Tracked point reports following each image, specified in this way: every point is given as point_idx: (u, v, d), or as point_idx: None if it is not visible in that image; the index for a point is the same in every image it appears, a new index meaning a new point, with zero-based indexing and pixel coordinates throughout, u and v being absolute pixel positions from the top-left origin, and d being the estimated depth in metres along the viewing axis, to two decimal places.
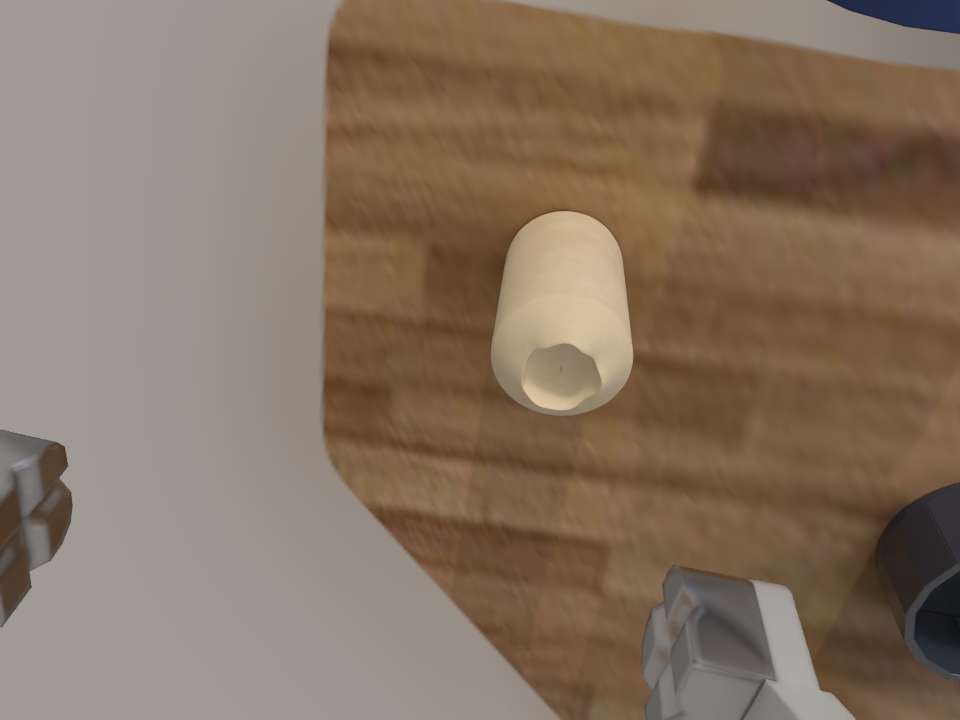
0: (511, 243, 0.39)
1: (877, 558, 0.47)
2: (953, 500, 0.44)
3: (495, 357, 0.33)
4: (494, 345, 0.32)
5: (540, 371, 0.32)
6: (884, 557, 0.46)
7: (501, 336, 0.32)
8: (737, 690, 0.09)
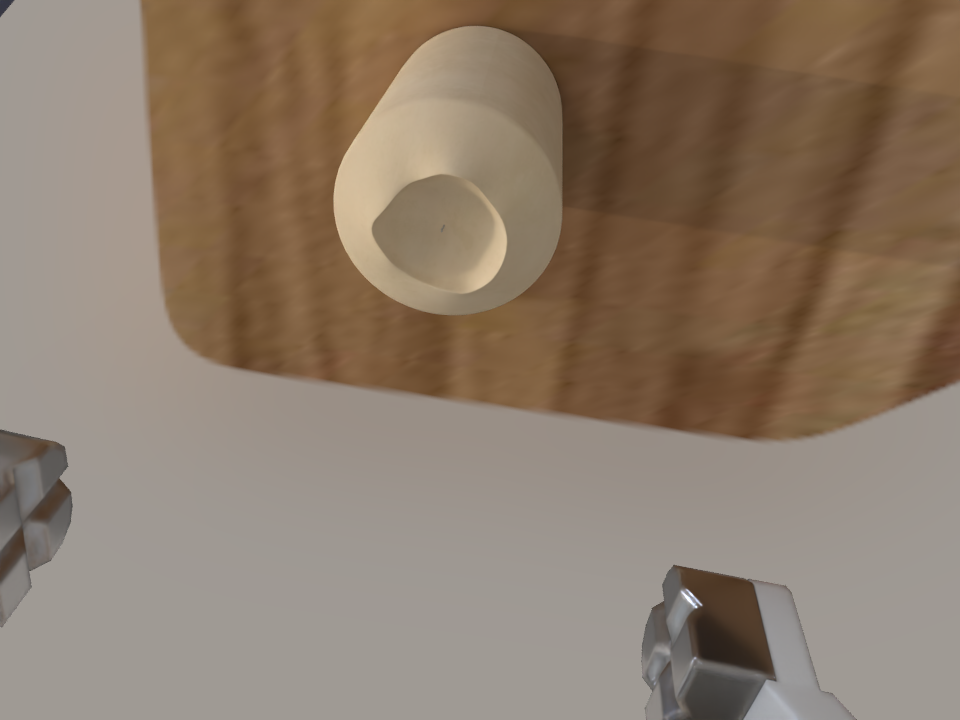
0: None
1: None
2: None
3: (448, 312, 0.21)
4: (429, 311, 0.21)
5: (453, 257, 0.20)
6: None
7: (408, 303, 0.21)
8: (737, 690, 0.09)
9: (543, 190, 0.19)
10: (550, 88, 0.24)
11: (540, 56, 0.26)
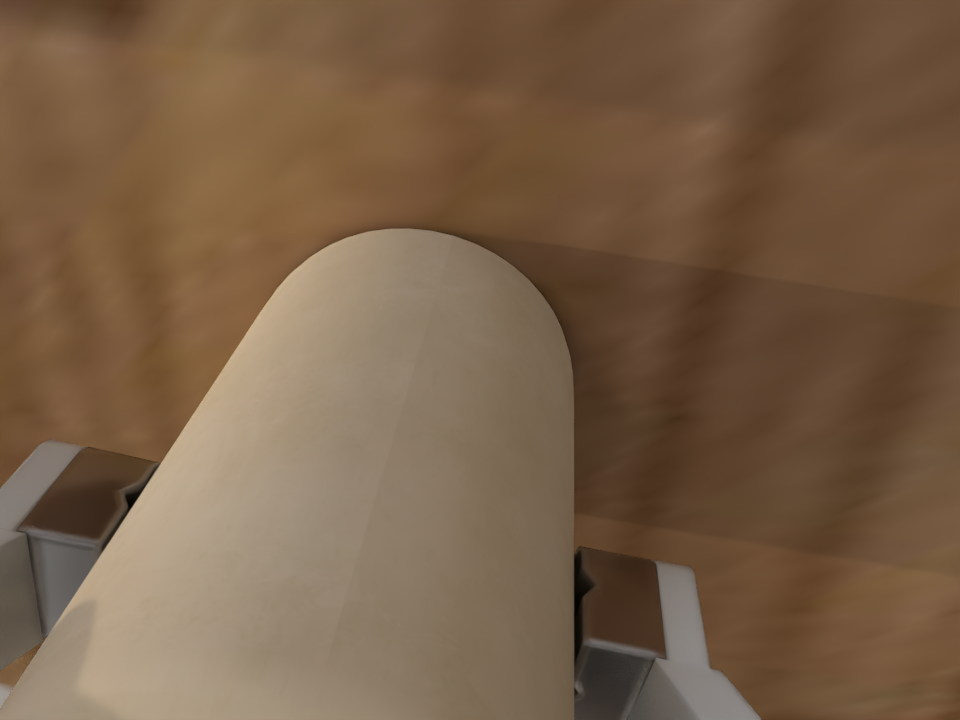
0: None
1: None
2: None
3: None
4: None
5: None
6: None
7: None
8: (629, 669, 0.09)
9: None
10: (549, 382, 0.12)
11: (531, 287, 0.13)
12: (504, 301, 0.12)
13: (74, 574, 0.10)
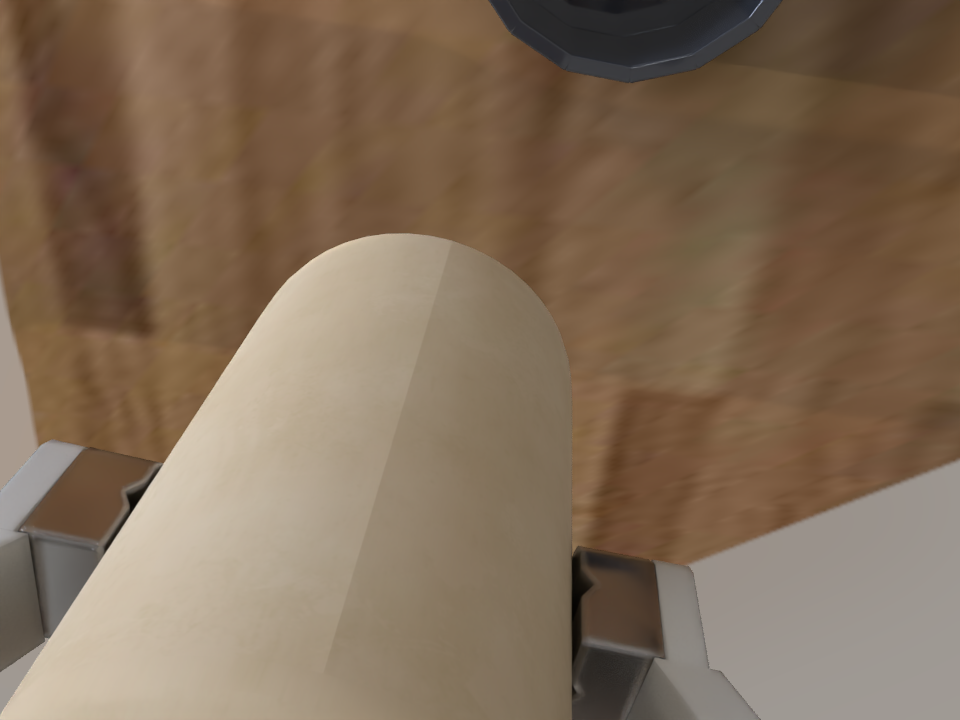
0: None
1: None
2: None
3: None
4: None
5: None
6: None
7: None
8: (627, 669, 0.09)
9: None
10: (547, 387, 0.12)
11: (530, 292, 0.13)
12: (502, 306, 0.12)
13: (76, 574, 0.10)
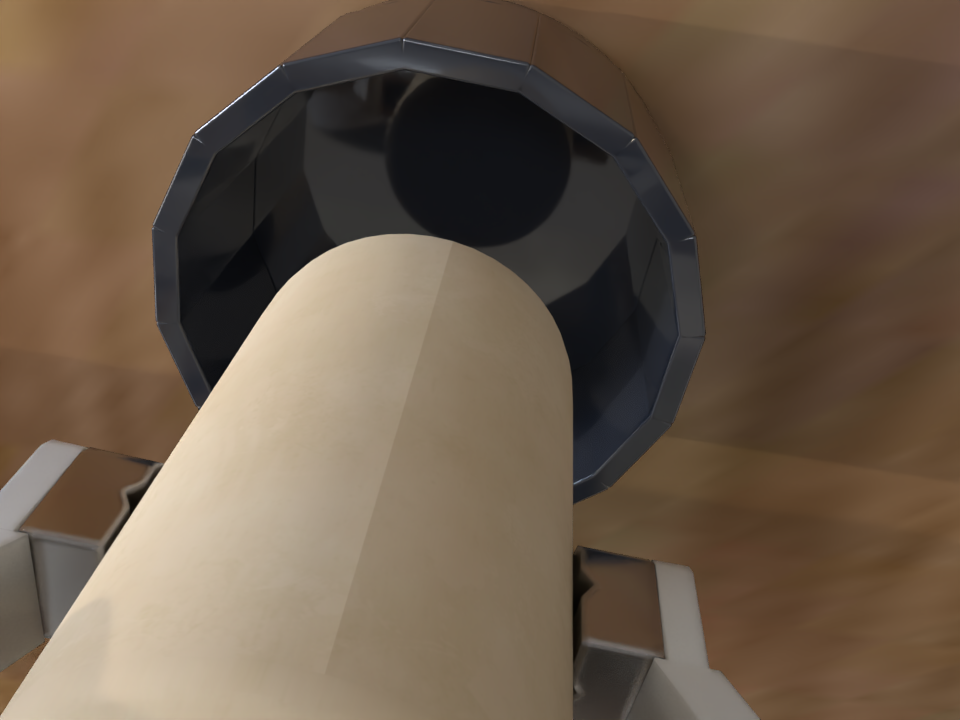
0: None
1: None
2: None
3: None
4: None
5: None
6: None
7: None
8: (628, 668, 0.09)
9: None
10: (548, 388, 0.12)
11: (530, 293, 0.13)
12: (503, 306, 0.12)
13: (75, 574, 0.10)
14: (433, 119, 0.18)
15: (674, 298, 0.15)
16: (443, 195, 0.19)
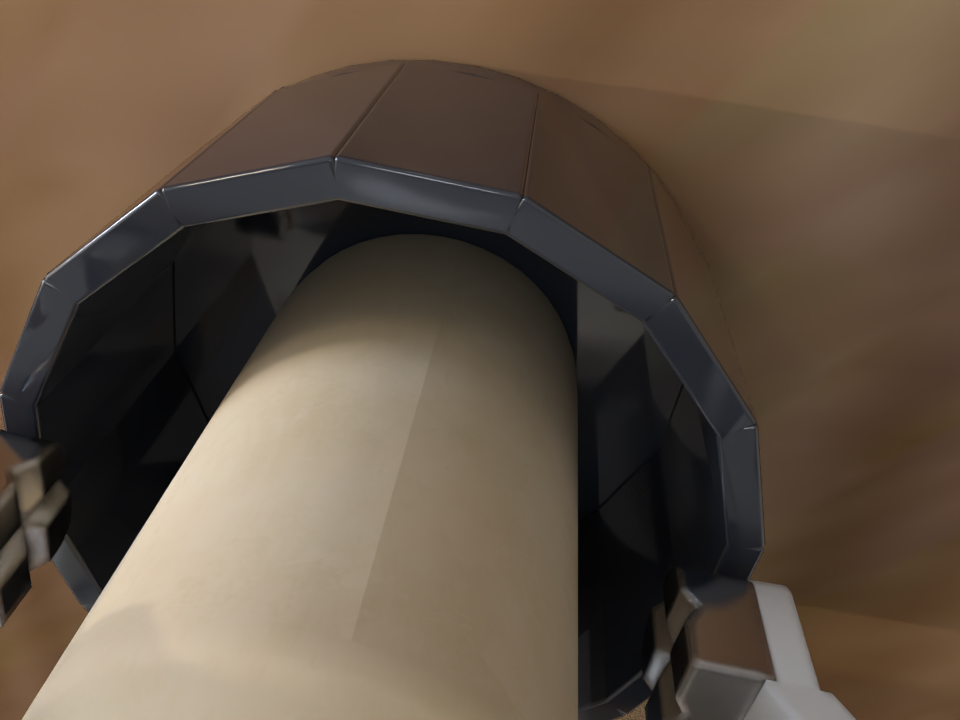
0: None
1: None
2: None
3: None
4: None
5: None
6: None
7: None
8: (737, 690, 0.09)
9: None
10: (555, 382, 0.12)
11: (537, 291, 0.14)
12: (512, 304, 0.13)
13: None
14: (399, 220, 0.14)
15: (723, 501, 0.11)
16: None
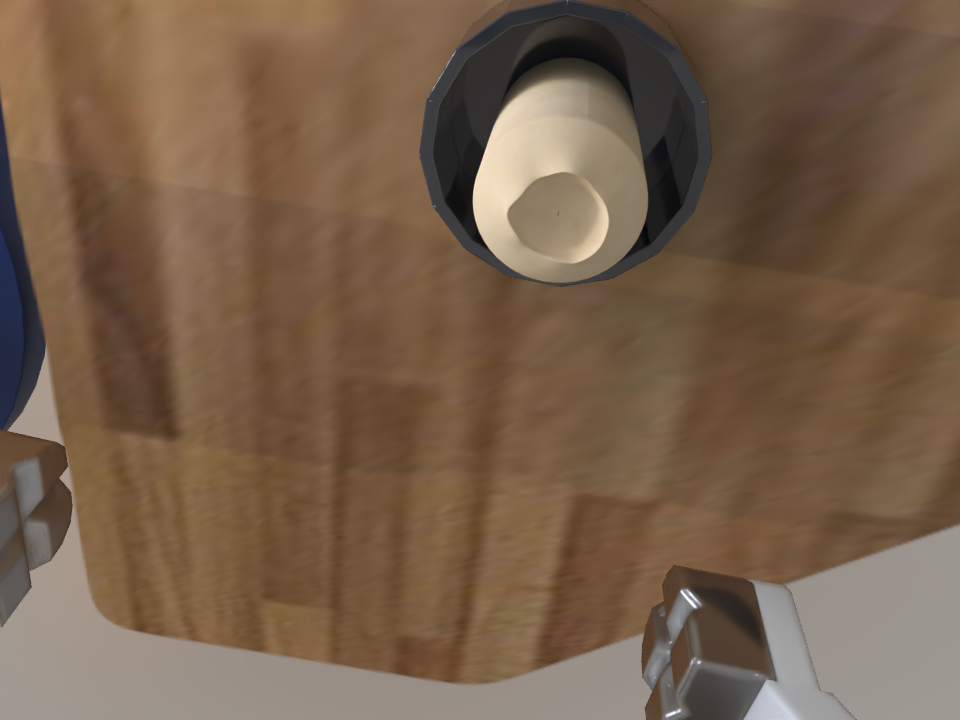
0: None
1: None
2: None
3: (555, 279, 0.28)
4: (540, 279, 0.28)
5: (564, 236, 0.26)
6: None
7: (525, 272, 0.28)
8: (737, 690, 0.09)
9: (635, 185, 0.26)
10: (630, 108, 0.31)
11: None
12: (611, 80, 0.31)
13: None
14: (560, 51, 0.32)
15: (696, 135, 0.29)
16: None
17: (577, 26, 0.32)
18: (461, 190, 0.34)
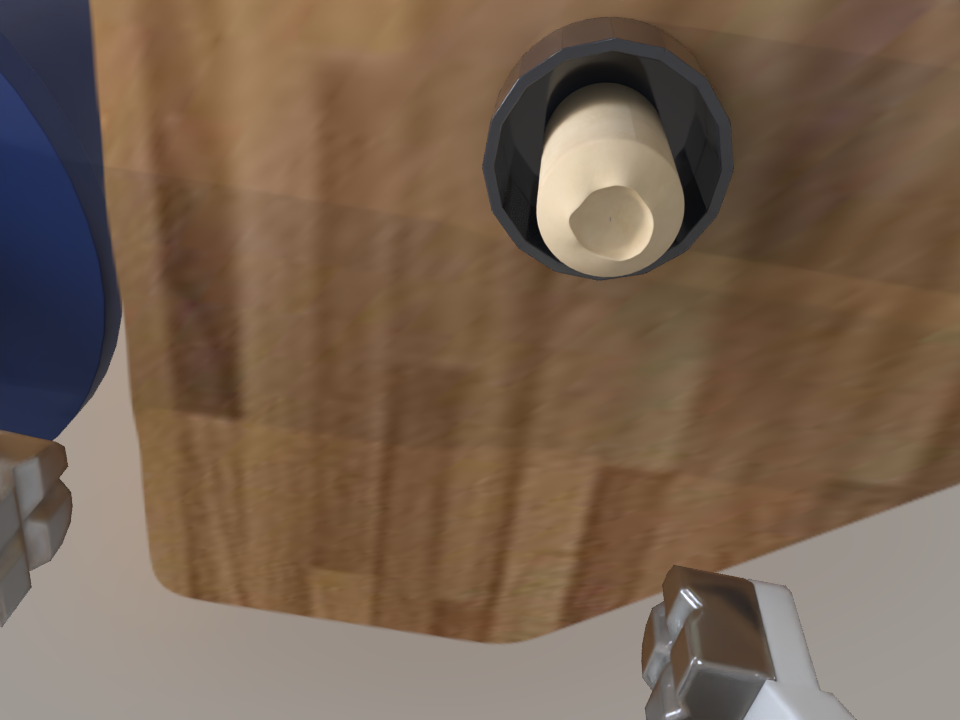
0: None
1: None
2: None
3: (604, 274, 0.33)
4: (591, 274, 0.33)
5: (614, 238, 0.31)
6: None
7: (578, 268, 0.33)
8: (737, 690, 0.09)
9: (674, 196, 0.31)
10: (662, 127, 0.36)
11: (651, 104, 0.37)
12: (646, 102, 0.36)
13: None
14: (600, 77, 0.37)
15: (720, 151, 0.34)
16: None
17: (615, 56, 0.37)
18: (513, 196, 0.39)
